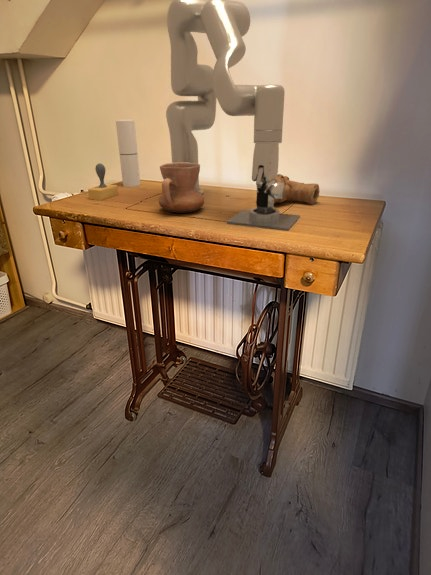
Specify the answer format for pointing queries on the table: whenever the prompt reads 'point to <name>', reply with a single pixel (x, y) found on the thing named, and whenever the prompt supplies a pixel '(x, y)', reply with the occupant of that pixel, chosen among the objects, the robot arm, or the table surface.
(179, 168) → the ceramic jug
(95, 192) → the rubber stamp
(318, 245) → the table surface
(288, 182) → the clay pipe
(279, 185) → the grey rounded piece
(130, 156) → the cylindrical container
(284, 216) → the flange
